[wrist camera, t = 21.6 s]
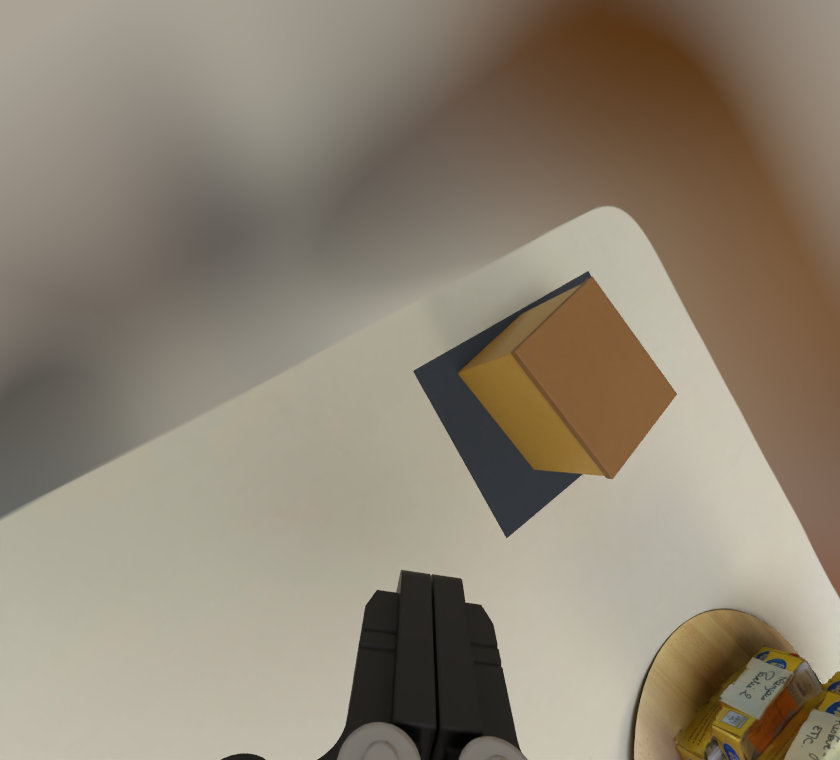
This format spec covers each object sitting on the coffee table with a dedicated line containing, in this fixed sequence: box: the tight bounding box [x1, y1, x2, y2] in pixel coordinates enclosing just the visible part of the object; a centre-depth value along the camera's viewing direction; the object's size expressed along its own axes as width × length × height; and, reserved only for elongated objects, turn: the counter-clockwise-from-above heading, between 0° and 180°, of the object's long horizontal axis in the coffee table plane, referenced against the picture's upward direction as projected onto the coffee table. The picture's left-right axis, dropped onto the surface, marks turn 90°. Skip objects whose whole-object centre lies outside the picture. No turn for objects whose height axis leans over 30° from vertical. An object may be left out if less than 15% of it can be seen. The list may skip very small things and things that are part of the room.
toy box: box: [458, 277, 677, 479], centre depth 34 cm, size 9×11×9 cm
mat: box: [413, 272, 591, 538], centre depth 39 cm, size 16×22×1 cm
